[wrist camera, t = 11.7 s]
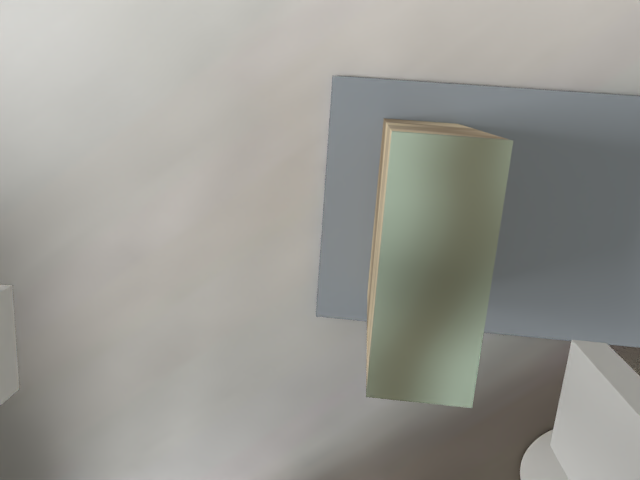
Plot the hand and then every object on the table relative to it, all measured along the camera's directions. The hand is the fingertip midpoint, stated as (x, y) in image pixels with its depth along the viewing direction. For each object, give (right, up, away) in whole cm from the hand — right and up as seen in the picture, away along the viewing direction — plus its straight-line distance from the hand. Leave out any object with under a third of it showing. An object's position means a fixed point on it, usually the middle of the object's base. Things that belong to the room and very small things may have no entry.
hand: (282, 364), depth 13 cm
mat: (+11, +4, +19) cm, 22 cm away
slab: (+6, +5, +18) cm, 20 cm away
